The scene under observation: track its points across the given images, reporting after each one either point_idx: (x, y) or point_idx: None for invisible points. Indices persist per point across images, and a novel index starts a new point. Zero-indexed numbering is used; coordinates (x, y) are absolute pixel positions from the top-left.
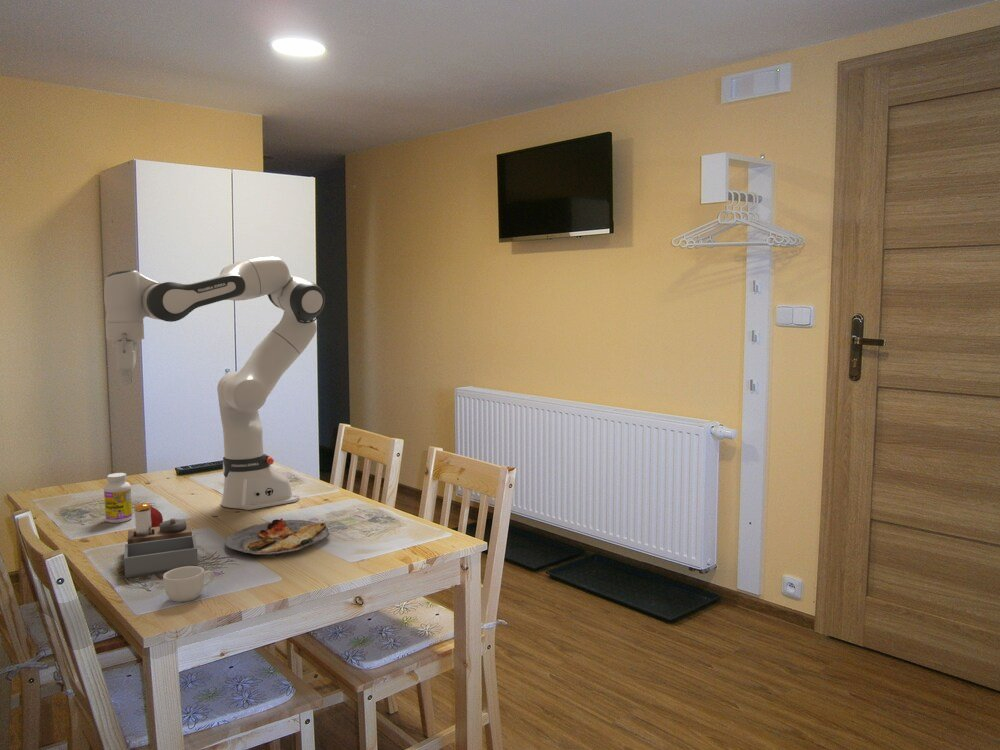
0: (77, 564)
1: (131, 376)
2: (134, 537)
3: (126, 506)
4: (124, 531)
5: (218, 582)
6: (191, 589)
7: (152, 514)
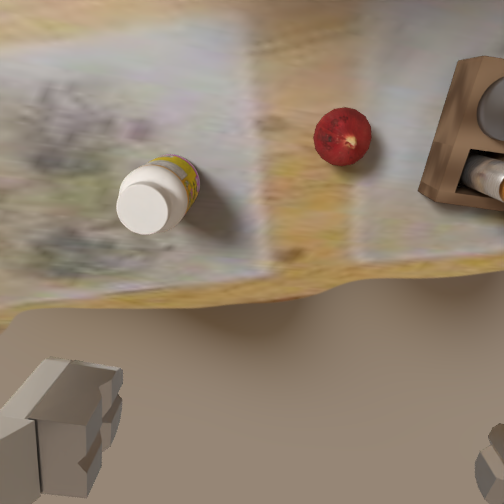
0: (432, 277)
1: (26, 432)
2: None
3: (189, 173)
4: (273, 182)
5: None
6: None
7: (367, 137)
